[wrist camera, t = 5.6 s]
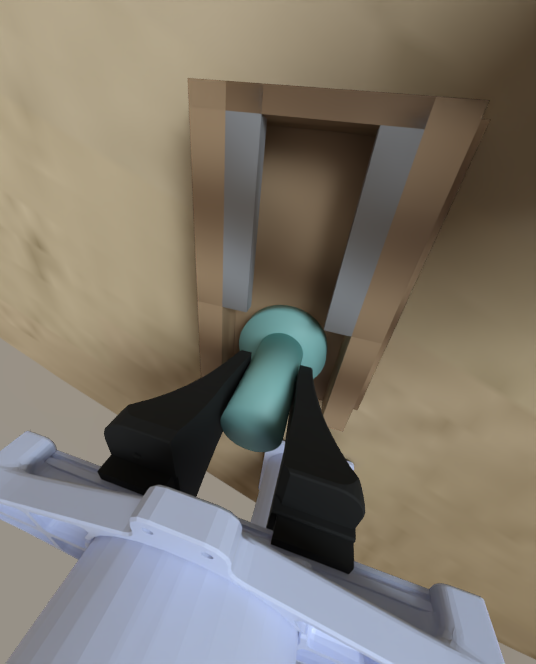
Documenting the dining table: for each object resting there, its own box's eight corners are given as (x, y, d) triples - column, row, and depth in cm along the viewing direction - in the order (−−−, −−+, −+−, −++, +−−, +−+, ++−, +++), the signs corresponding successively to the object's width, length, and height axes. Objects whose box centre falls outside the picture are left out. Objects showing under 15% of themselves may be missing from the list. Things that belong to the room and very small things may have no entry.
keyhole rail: (356, 400, 18) (358, 436, 16) (208, 360, 20) (188, 386, 18) (478, 125, 10) (527, 103, 7) (203, 100, 12) (163, 76, 9)
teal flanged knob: (314, 385, 18) (300, 485, 12) (240, 363, 18) (192, 447, 12) (338, 318, 14) (334, 407, 9) (248, 295, 15) (189, 362, 9)
